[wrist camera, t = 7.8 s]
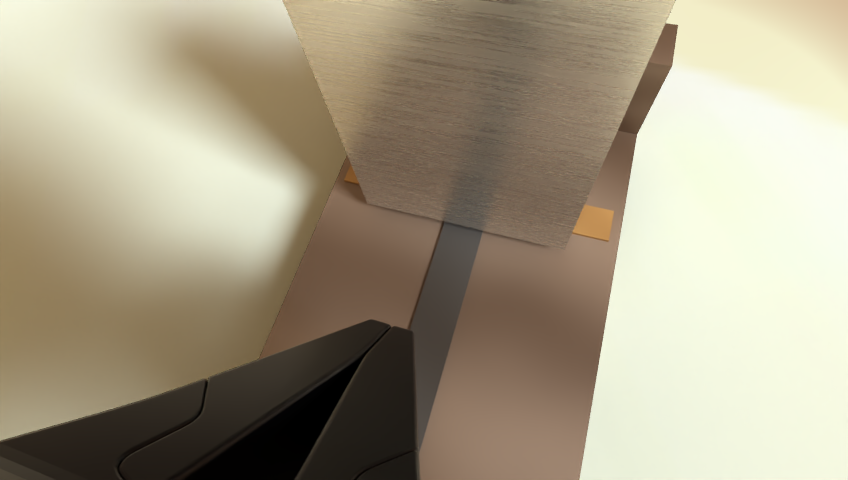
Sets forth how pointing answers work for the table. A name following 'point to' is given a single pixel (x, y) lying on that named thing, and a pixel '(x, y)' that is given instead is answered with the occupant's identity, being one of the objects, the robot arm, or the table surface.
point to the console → (479, 313)
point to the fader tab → (480, 101)
